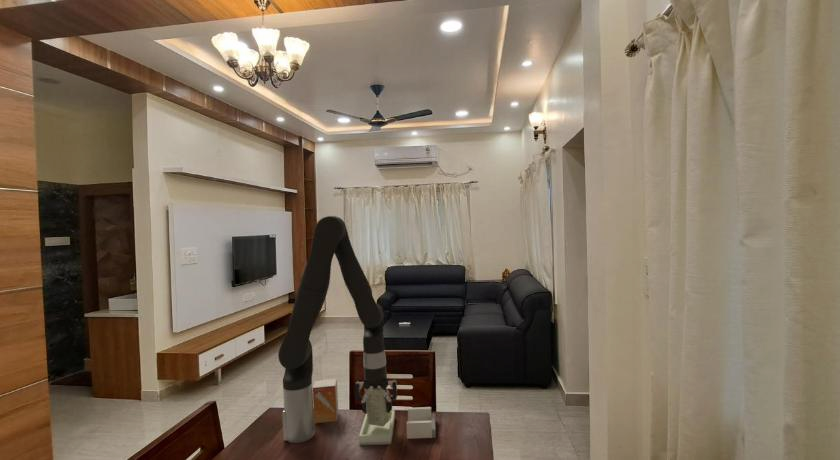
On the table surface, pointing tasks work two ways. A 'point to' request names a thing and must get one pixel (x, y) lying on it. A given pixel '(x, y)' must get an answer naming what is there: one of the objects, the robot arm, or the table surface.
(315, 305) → the robot arm
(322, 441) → the table surface
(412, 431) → the off-white card holder
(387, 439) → the tray
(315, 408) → the small box
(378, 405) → the skincare box
